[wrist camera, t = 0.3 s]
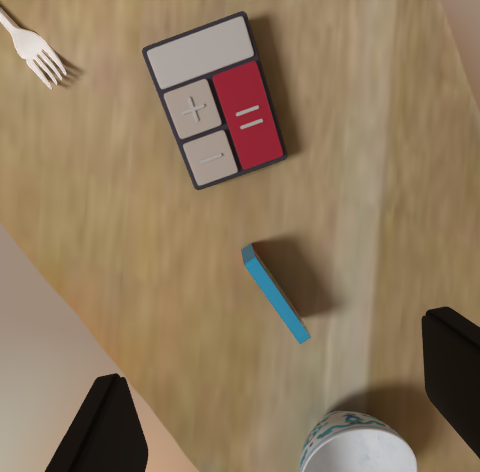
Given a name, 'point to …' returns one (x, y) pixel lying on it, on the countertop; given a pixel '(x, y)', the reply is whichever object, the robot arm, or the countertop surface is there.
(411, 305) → the countertop surface
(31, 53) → the fork
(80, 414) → the robot arm
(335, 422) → the chinaware
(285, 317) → the blue thin box
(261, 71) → the calculator
